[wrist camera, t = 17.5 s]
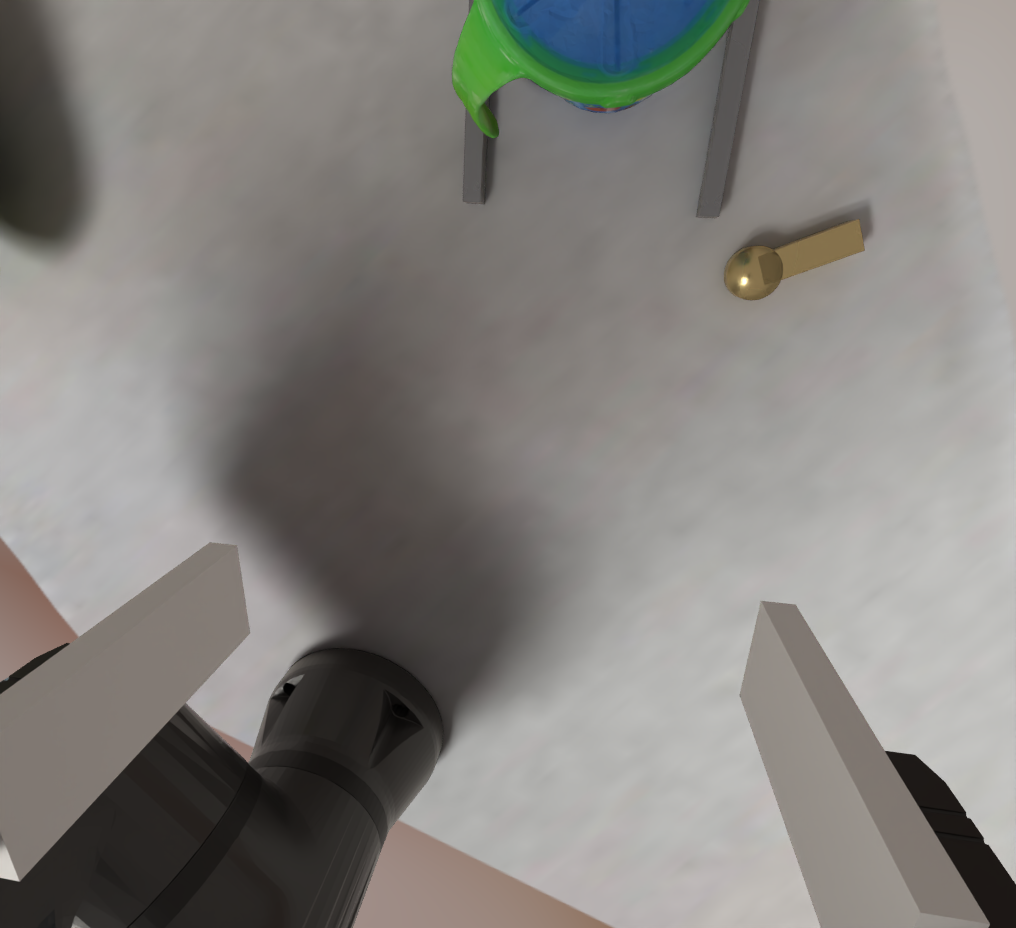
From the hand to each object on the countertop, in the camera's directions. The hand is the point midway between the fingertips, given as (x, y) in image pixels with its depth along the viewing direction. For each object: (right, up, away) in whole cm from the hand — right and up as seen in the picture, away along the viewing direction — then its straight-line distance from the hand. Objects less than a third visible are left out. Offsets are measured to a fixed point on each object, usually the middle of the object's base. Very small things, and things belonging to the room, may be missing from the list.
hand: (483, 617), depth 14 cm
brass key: (+17, +15, +16) cm, 28 cm away
